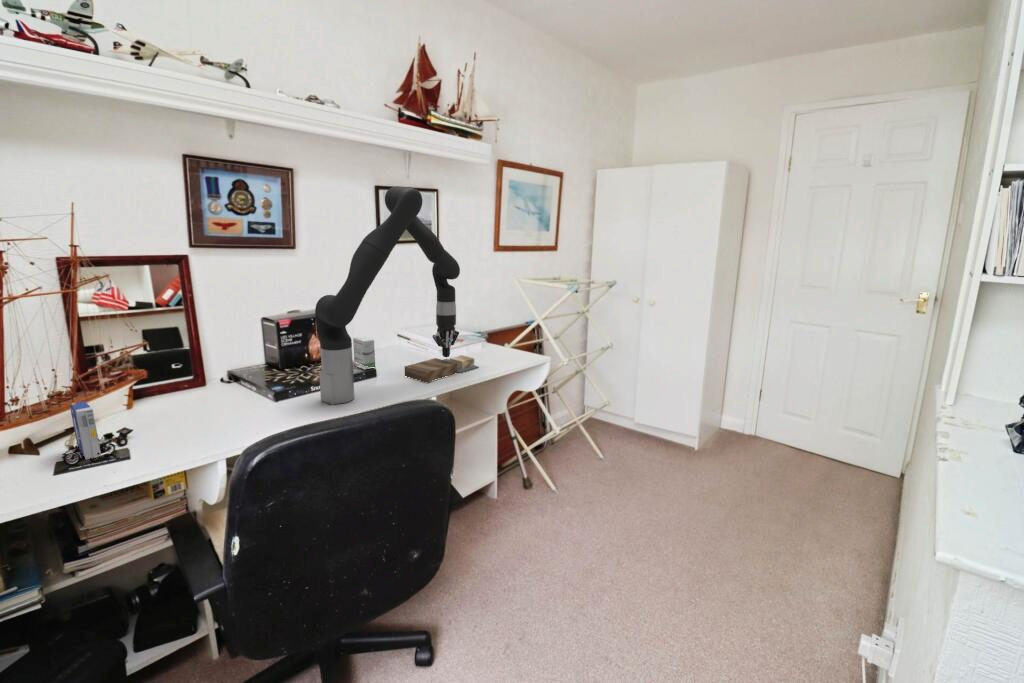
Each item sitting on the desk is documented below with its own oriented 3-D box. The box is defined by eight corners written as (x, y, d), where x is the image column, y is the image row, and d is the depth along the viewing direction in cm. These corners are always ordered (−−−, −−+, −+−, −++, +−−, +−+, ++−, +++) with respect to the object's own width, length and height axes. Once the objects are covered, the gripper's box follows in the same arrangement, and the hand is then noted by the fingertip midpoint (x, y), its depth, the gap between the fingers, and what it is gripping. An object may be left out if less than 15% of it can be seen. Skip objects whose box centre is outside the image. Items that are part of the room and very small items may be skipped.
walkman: (77, 450, 113) (68, 402, 111) (93, 446, 115) (84, 399, 113) (85, 460, 109) (76, 410, 106) (101, 456, 111) (92, 407, 108)
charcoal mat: (460, 373, 183) (460, 372, 183) (427, 365, 193) (427, 363, 193) (478, 367, 192) (478, 366, 192) (446, 360, 202) (446, 358, 202)
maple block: (474, 358, 192) (474, 365, 193) (461, 355, 196) (461, 362, 197) (462, 361, 187) (462, 368, 188) (449, 358, 191) (449, 365, 192)
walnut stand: (427, 383, 171) (427, 372, 170) (404, 376, 177) (404, 366, 177) (457, 373, 183) (457, 363, 182) (435, 367, 190) (435, 358, 189)
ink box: (376, 368, 187) (375, 339, 184) (364, 371, 183) (363, 341, 181) (365, 364, 192) (363, 335, 190) (353, 366, 189) (352, 337, 186)
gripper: (440, 316, 174) (441, 361, 178) (465, 312, 185) (464, 355, 189) (426, 313, 178) (427, 358, 182) (450, 309, 189) (450, 352, 193)
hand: (446, 356), depth 185 cm, fingers closed
